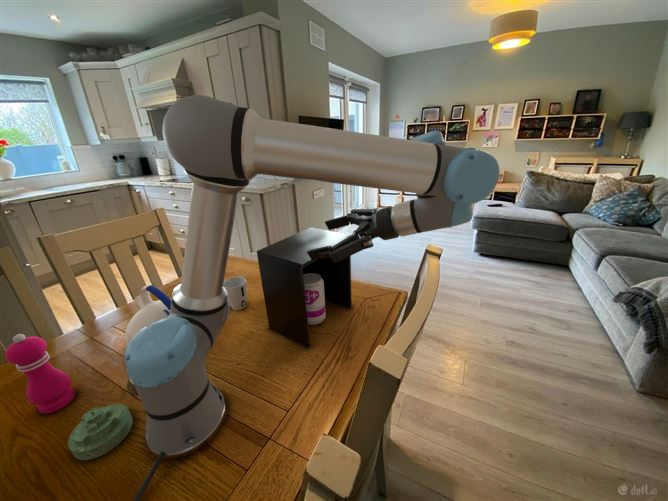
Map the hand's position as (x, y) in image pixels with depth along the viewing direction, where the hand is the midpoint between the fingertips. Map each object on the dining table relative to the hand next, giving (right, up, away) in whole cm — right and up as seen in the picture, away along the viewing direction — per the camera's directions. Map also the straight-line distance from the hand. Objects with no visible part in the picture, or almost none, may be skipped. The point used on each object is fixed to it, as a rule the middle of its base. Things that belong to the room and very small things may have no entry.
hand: (319, 239), depth 73 cm
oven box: (-3, -25, +19) cm, 32 cm away
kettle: (-48, -30, +13) cm, 59 cm away
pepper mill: (-62, -39, -7) cm, 74 cm away
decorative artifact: (-44, -42, -15) cm, 63 cm away
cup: (-31, -23, +27) cm, 47 cm away
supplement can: (-3, -26, +19) cm, 32 cm away
